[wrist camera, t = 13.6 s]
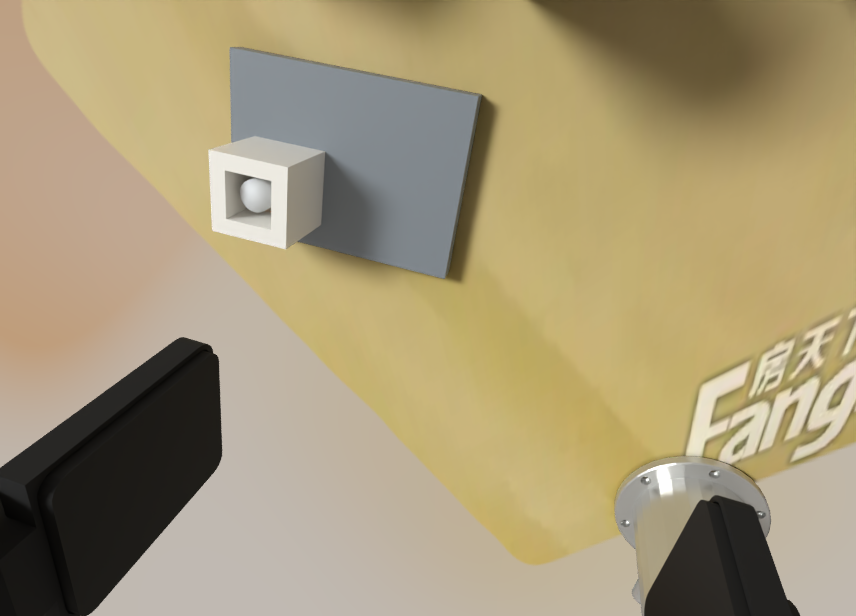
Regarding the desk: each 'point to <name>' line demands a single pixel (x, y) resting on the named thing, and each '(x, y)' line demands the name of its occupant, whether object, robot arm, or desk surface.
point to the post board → (363, 153)
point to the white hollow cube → (290, 190)
